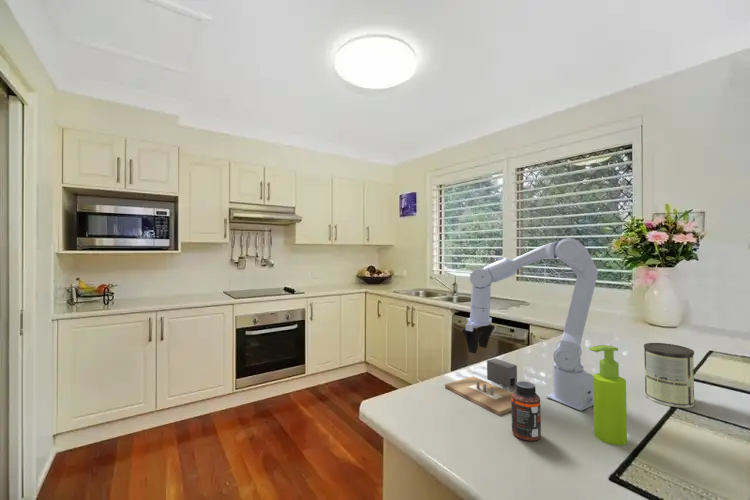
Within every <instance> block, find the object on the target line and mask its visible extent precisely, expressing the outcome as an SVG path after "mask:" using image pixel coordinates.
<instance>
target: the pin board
mask: <svg viewBox="0 0 750 500" xmlns="http://www.w3.org/2000/svg"><path fill="white" fill-rule="evenodd" d="M444 388H445V389H447V390H449V391H451V392H452V393H455V394H457V395H459V396H460V397H462V398H464V399H466V400H468V401H470V402H472V403H473V404H475V405H478V406H480V407H482V408H483V409H486V410H487V411H490V412H492V413H493V414H496V415H497V416H502V415H504V414H508V413H510V412H512V405H511V400H512V399H511V396H512V393H513V391H509V390H507V389H504V388H503V387H500V386H497V385H495V384H493V383H491V382H488V381H486V380H483V379H481V378H479V377H475V376H470V377H467V378H463V379H458V380H456V381H451V382H449V383H445V384H444ZM509 411H510V412H509Z"/></svg>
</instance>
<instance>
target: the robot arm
mask: <svg viewBox="0 0 750 500" xmlns="http://www.w3.org/2000/svg"><path fill="white" fill-rule="evenodd" d="M544 259H547V260H556V259H559V260H560V261H562V262H563V263H564V264H566V265H568V266H569V268H570V269H571V270H572V271H573V272H574V274H575V275H576V280H575V284H574V287H573V291H572V295H571V300H570V304H569V307H568V312H567V316H566V321H565V324H564V328H563V333H562V336H561V339H560V341H558V342H557V344H556V347H555V350H554V351H553V357H552V358H553V363H552V377H553V379H552V380H553V381H552V382H553V383H552V385H553V390H552V391H553V392H551V393H550V394H546V398H547V399H550V400H551V401H555V402H558V403H560V404H562V405H564V406H567V407H570V408H572V409H575V410H578V411H585V410H586V409H588V408H590V407H592V406H593V407H594V390H593V375H594V374H592V373H589V372H587V371H586V370H585V369H584V365H582V363H581V362H582V358H581V357H582V352H583V351H582V347H581V345H582V338H583V334H584V330H585V326H586V322H587V318H588V314H589V310H590V308H591V303H592V300H593V299H592V298H593V294H594V290H595V286H596V282H597V279H598V274H599V272H598V271H599V270H598V268H597V266H596V264H595V263H594V261H593V258H592V256H591V254H590V253H589V251H588V248H587V247H586V246H585V245H583V244H582V243H581V242H580V241H578V240H577V239H575V238H570V237H567V238H563V239H561V240H559V241H554V242H549V243H547V244H544V245H543V244H542V245H541V246H538V247H536V248H534V249H531V250H530V251H528V252H525V253H523V254H522V255H519V256H516V257H514V258H511V257H508V256H506V257H505V256H504V257H503V256H501V257H498V258H497V260H496V261H494V262H492V263H489V264H488V263H485V264H483V265H482V266H483V267H481V268H476V269H474V270H473V271H471V273H470V276H469V281H470V283H471V293H470V310H469V311H470V313H469V317H467V318H466V322H467V323H465V326H464V327H463V328H462V333H463V335H464V337H465V339H466V345H467V349H468V352H469V353H471V354H476V353H477V351H478V347H480V348H484V349H486V348H487V347H488V344H489V340H490V337H491V335H492V333H493V332H494V330H495V325H492V321H493V318H492V317H490V313H491V312H490V309H491V297H492V296H491V286H492V283H498V282H500V281H503V280H505V279H508V278H510V277H512V276H515V275H516V272H517V271H518V270H519V268H523V267H525V266H528V265H530V264H534V263H536V262H538V261H542V260H544Z"/></svg>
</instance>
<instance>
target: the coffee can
mask: <svg viewBox="0 0 750 500" xmlns="http://www.w3.org/2000/svg"><path fill="white" fill-rule="evenodd" d="M643 349H644V386H645V387H644V389H645V390H644V395H645V397H646V398H648V399H649V401H652V402H655V403H657V404H659V405H660V404H661V405H663V406H668V407H673V408H679V409H681V408H682V409H691V408H693V407H695V404H696V403H695V381H694V379H695V377H694V371H695V370H694V369H695V368H694V364H695V363H694V355H695V351H694V350H693V349H691V348H689V347H687V346H683V345H678V344H673V343H672V344H671V343H666V342H665V343H663V342H647V343H644V344H643Z"/></svg>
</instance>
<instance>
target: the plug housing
mask: <svg viewBox="0 0 750 500" xmlns="http://www.w3.org/2000/svg"><path fill="white" fill-rule="evenodd" d="M486 379H487V380H489V381H491V382H493V383H496V384H498V385H500V384H501V386H504V387H505V386H506V387H505V388H508V387H509V388H511V385H513V386H516V383H517V382H518V367H517V364H513V363H510V362H508V361H504V360H503V359H499V358H492V359H487V360H486Z"/></svg>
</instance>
